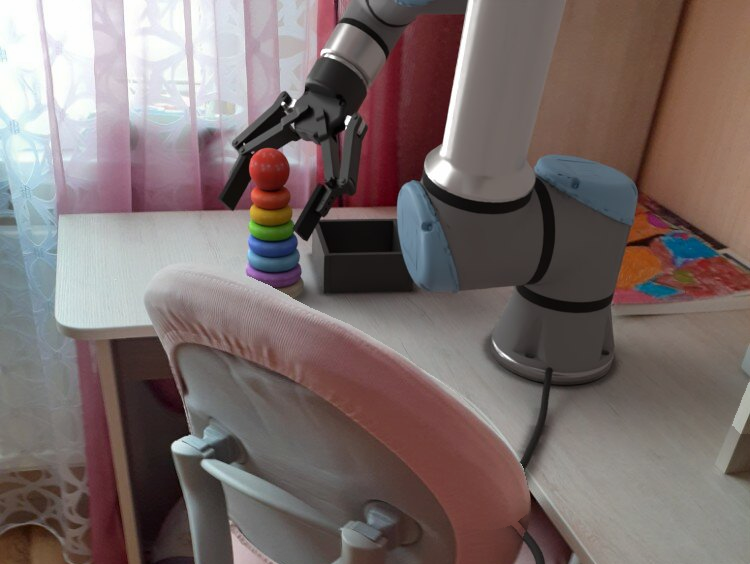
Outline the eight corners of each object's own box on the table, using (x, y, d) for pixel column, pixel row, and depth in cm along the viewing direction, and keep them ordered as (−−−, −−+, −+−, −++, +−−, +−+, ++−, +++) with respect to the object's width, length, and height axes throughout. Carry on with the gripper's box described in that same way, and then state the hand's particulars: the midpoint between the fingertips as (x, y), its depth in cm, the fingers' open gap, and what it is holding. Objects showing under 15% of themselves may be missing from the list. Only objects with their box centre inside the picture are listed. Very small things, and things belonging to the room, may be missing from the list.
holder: (412, 291, 118) (416, 253, 115) (323, 293, 116) (324, 255, 113) (394, 254, 128) (397, 218, 124) (311, 255, 126) (312, 219, 122)
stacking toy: (307, 281, 119) (308, 143, 107) (298, 306, 113) (298, 163, 101) (252, 275, 119) (247, 137, 107) (239, 301, 113) (232, 157, 101)
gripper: (432, 115, 105) (347, 263, 105) (288, 74, 117) (213, 208, 117) (409, 74, 98) (318, 233, 99) (259, 36, 110) (179, 177, 110)
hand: (261, 220), depth 108 cm, fingers open, 13 cm apart
